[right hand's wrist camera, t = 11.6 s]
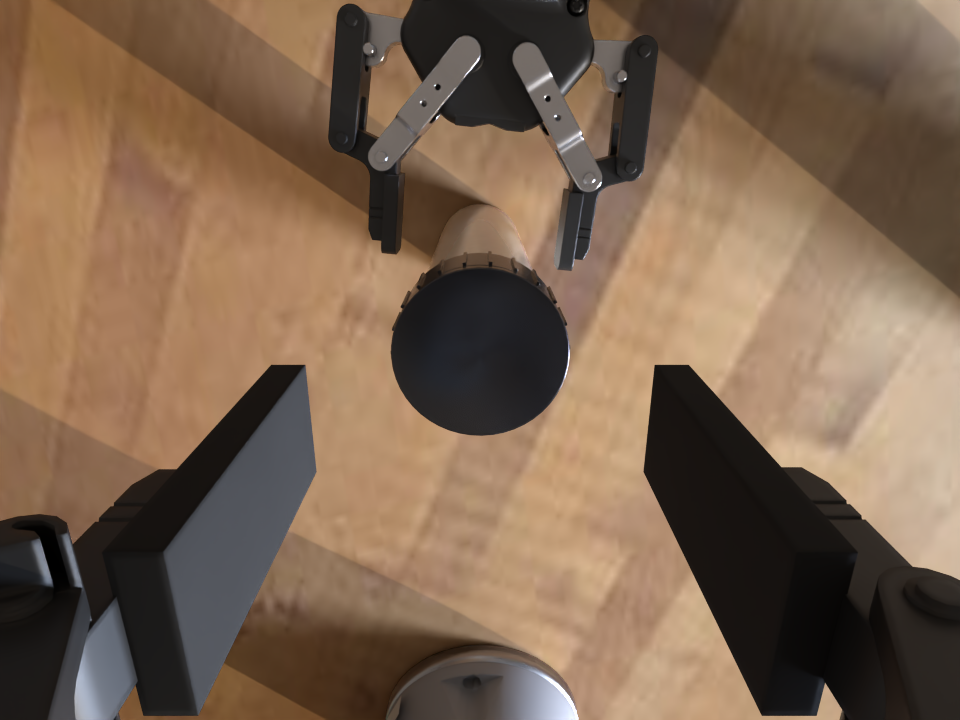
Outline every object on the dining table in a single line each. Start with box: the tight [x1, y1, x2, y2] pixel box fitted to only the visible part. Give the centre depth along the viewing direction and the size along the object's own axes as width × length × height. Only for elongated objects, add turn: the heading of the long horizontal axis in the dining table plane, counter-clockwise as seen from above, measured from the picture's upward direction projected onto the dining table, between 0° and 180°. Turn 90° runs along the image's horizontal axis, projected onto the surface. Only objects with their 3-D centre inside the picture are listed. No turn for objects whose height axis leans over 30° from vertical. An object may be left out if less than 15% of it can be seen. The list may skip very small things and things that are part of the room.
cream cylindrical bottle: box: [427, 204, 532, 272], centre depth 28 cm, size 5×5×19 cm
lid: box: [391, 251, 570, 436], centre depth 19 cm, size 5×5×2 cm
